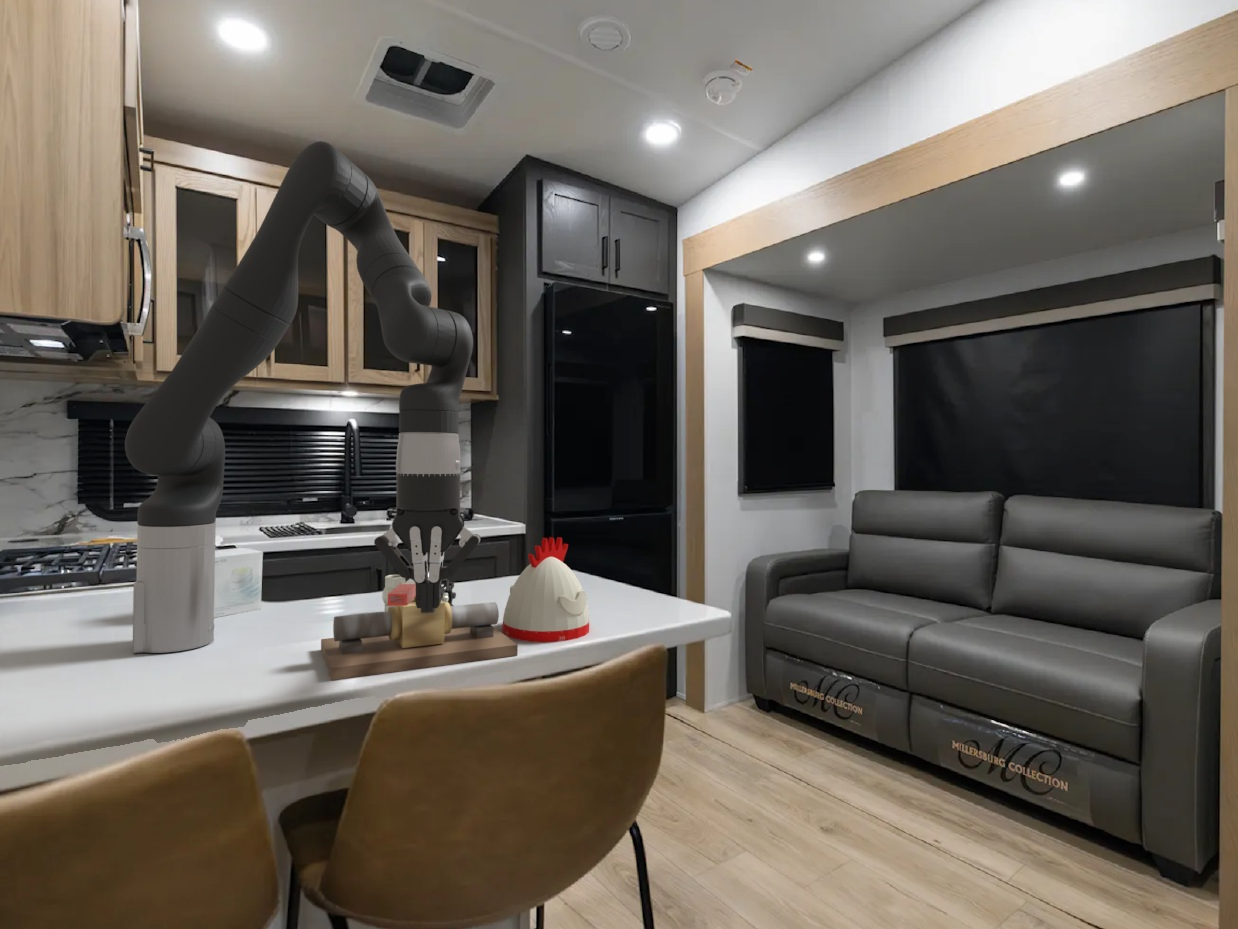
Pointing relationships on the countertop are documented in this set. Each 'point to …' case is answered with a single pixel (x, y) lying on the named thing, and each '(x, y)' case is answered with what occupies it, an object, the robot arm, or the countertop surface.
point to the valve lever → (403, 593)
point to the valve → (395, 580)
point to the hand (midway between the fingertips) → (428, 611)
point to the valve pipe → (414, 639)
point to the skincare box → (237, 581)
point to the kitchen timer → (546, 599)
